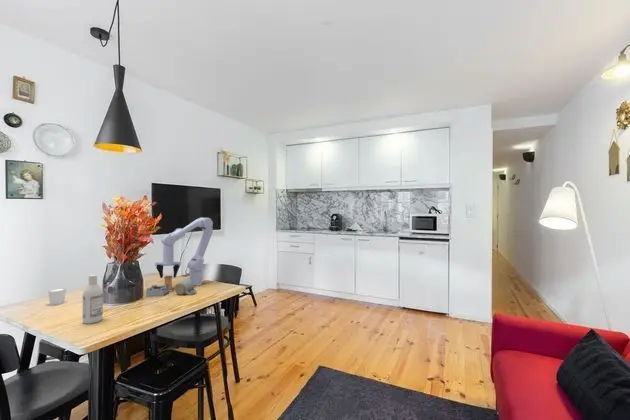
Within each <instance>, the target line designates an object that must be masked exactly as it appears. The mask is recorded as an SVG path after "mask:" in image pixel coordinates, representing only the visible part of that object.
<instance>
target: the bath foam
mask: <svg viewBox="0 0 630 420" xmlns="http://www.w3.org/2000/svg"><path fill="white" fill-rule="evenodd" d="M103 292H104V291H103V289H102V287H101V286H100V285H99V284H98V274H90V275H88V284H87V285H86V286H85V288H84V290H83V293H82V323H83V324H85V325H87V324H88V325H89V324H94V323H98V322H100V321H102V320H103V315H104V314H103V313H104V311H103V308H104V307H103V304H104V303H103V302H104V301H103V300H104V299H103V297H104V295H103V294H104V293H103Z"/></svg>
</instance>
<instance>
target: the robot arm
mask: <svg viewBox="0 0 630 420" xmlns="http://www.w3.org/2000/svg"><path fill="white" fill-rule="evenodd" d="M213 225H214V222H213V220H212V218H210V217H203V216H202V217H199V218H197V219H195V220H194V221H192V222H190V223H189V224H188V225H185V227H183V228H180V227H179V228H176V229H175V230H173V232H169V233H168V235H164V236H163V237H162V239H161V243H162V244H163V246H162V247H163V248H162V261H159V262H158V261H157V262H155V263H154V267H155V268H156V271H158V274H159V277H160V279H163V278H164V267H165V266H166V267H167V266H172V269H173V279H175V278H177V274H178V271H179V268H180V267H181V266H182V261H174V260H175V259H174V257H175V256H174V254H175V253H174V250H175V249H174V245H175V244H176V242H177V241H179V240H180V239H182V238H184V237H185V236H186V233H189V231H190V232H191V231H192V230H193V229H195V228H198V227H199V228H200V229H201V230H202V232H203V233H202V236H201V239H200V241H199V244H198V246H197V248H196V251H195V254H194V255H193V256H192V257H191V259H190V260H189V261H188V263H187V267H188V268H189V279H190V280H191V281H192V282H193V284H194V287H195V286H201V285H203V283H204V282H205V281H204V280H203V271H202V270H203V268H204V262H205V259H204V255H205V253H206V251H207V248H208V246H209V243H210V240H211V238H212V236H213V232H214V229H213Z"/></svg>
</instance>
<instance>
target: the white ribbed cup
mask: <svg viewBox="0 0 630 420" xmlns="http://www.w3.org/2000/svg"><path fill="white" fill-rule="evenodd" d="M66 291H67V290H66V288H64V287H63V288H53V289H50V290H48V300H49V301H48V302H49V306H57V305H62V304H65V301H66V300H65V299H66Z"/></svg>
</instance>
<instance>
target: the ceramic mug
mask: <svg viewBox="0 0 630 420" xmlns="http://www.w3.org/2000/svg"><path fill="white" fill-rule="evenodd" d="M174 291H175V293H176V295H178V296H183V295H185V294H187V295H189V296H193V295H195V294H196V289H195V286H194V284H193V282H192V281H191V280H190V278H186V279H183V280H182V281H179V282H177V283H176V284H175V286H174Z"/></svg>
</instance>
